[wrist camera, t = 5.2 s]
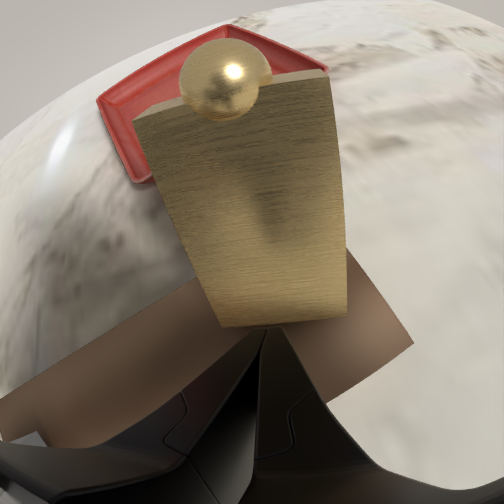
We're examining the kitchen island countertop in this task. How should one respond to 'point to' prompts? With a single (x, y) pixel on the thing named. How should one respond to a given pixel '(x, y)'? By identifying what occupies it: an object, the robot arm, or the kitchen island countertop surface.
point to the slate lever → (29, 439)
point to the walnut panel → (190, 362)
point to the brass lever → (253, 184)
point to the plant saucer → (177, 89)
